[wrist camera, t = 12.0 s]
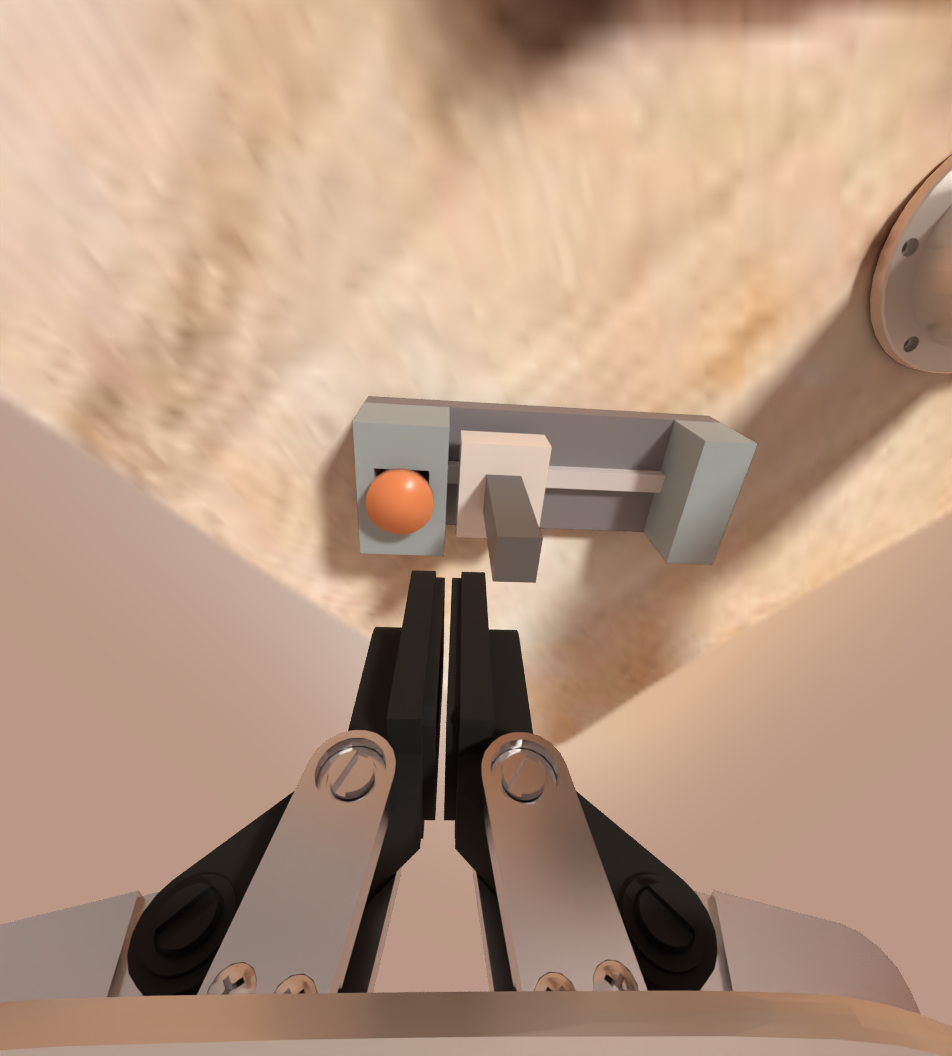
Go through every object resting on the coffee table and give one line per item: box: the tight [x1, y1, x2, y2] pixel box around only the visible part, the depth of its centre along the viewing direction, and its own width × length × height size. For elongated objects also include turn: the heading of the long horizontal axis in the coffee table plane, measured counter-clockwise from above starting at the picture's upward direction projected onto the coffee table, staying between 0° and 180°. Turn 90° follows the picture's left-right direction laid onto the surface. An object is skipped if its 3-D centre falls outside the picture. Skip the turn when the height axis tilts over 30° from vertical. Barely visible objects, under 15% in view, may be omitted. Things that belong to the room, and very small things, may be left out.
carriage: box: [456, 430, 552, 583], centre depth 25 cm, size 5×6×9 cm
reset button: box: [366, 468, 434, 534], centre depth 27 cm, size 4×4×5 cm
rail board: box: [352, 396, 757, 565], centre depth 29 cm, size 22×8×6 cm, turn 86°
